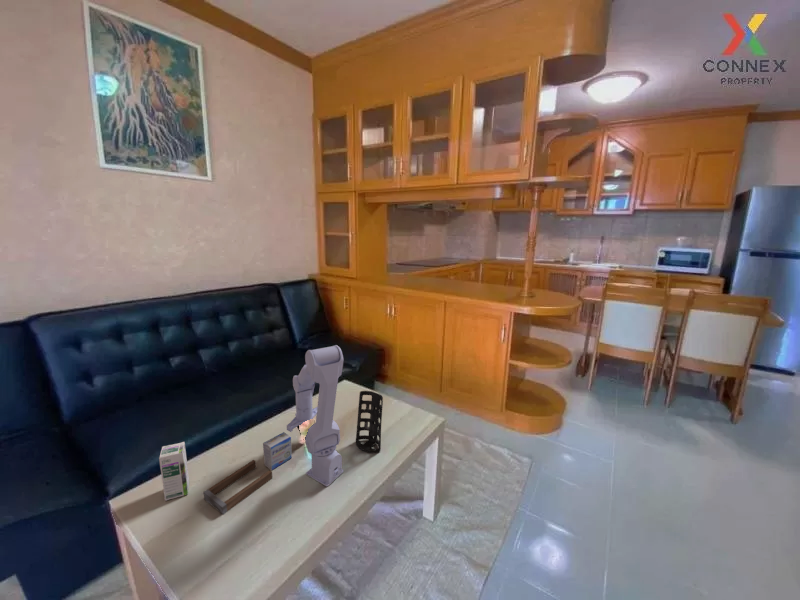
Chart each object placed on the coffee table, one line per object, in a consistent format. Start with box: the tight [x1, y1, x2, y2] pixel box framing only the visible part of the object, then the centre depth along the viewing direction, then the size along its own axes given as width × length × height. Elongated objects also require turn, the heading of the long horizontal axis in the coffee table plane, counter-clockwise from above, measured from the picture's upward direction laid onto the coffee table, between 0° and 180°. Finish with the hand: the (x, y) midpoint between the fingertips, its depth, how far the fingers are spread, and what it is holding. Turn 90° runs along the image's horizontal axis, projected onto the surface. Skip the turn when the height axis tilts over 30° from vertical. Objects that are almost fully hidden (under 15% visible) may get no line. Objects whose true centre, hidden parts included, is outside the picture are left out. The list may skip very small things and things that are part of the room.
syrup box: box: [158, 441, 190, 502], centre depth 97 cm, size 6×6×14 cm
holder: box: [355, 390, 384, 454], centre depth 121 cm, size 11×8×20 cm
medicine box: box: [262, 431, 293, 471], centre depth 112 cm, size 8×4×9 cm, turn 143°
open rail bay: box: [203, 459, 273, 515], centre depth 100 cm, size 9×16×2 cm, turn 148°
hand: (304, 438), depth 122 cm, fingers closed
